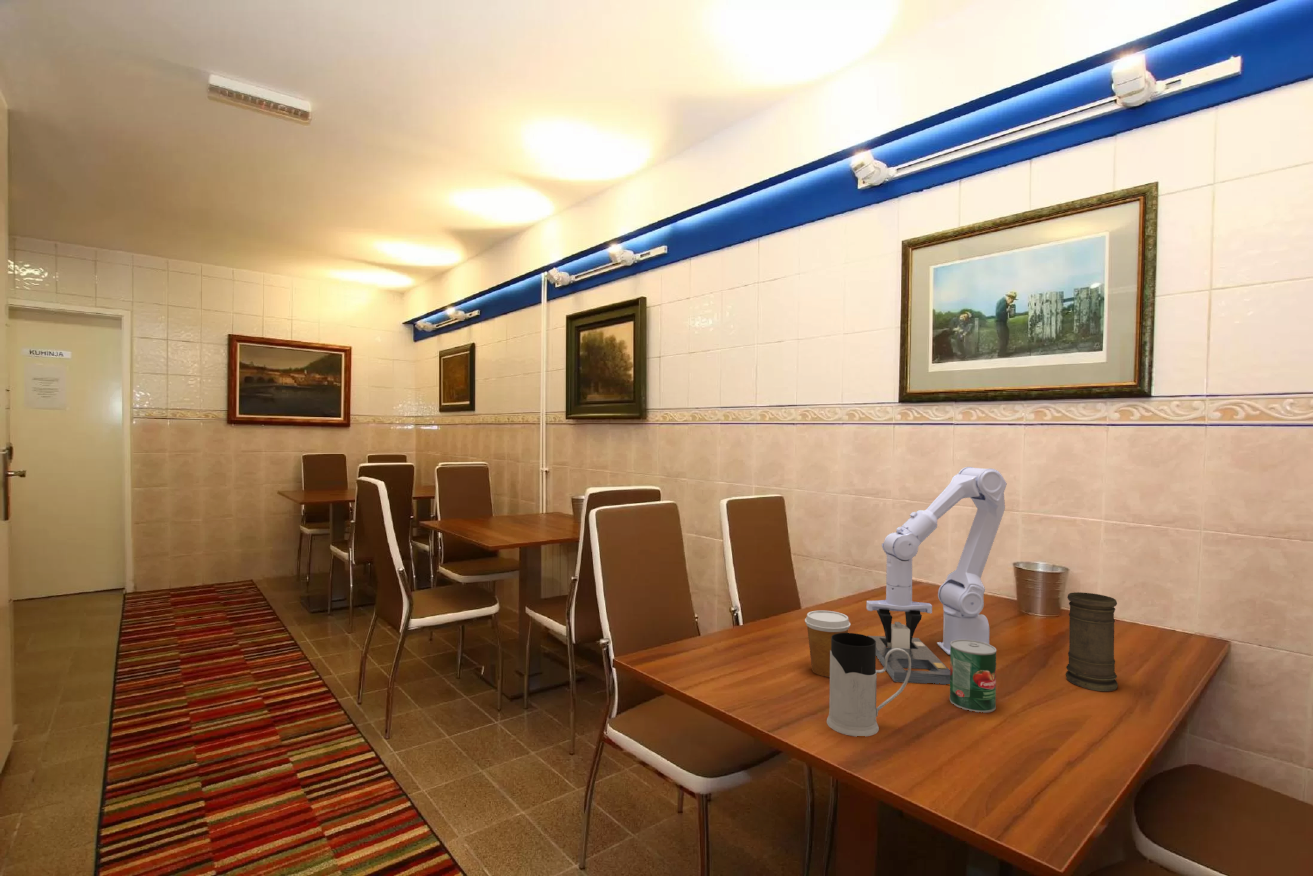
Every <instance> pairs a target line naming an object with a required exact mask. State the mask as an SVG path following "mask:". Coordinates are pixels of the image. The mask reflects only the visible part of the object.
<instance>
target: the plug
mask: <svg viewBox="0 0 1313 876" xmlns="http://www.w3.org/2000/svg"><path fill="white" fill-rule="evenodd" d="M887 648H904V649H910V629H909V628H908V627H907V626H906V624H903V623H901V621H894V623H891V643H888V642H887Z"/></svg>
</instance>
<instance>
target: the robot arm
mask: <svg viewBox="0 0 1313 876" xmlns="http://www.w3.org/2000/svg"><path fill="white" fill-rule="evenodd" d="M1007 484H1008V483H1007V481H1006V480H1005V478H1004V476H1003V475H1002V473H1001V472H1000V471H999V470H998V469H995V468H984V467H983V468H982V467H973V466H965V467H963V468H961V469H960V470H959V472H957V473H956V474H955V475H954V476H952V478H951V481H950V482H949V484H947V486H946V487H945V488H944V489H943V491H942V492H940V493H939V494H938V496H937V497H936V498H935V499H934V500H933V501H932V502H931V503H930V504H929V506H928V507H927V508H926V509H925V510H922V509H919V510H917V511H912V512H911V513H910V514H909V516H910V517H909V518H908V519H907V520H906V521H905V522H904V523H903V524H902V525H901V526H898V527H897V528H896V529H895V530H896V532H894V531H893V532H891V533H888V534H887V535H886V537H885V538H884V541H883V542H882V543H881V547H882V551H884V553H885V555H886V556H885V557H886V565H885V566H886V575H885V576H886V577H885V578H886V579H885V580H886V581H885V582H886V583H885V593H886V594H885V599H880V600H866V605H865V606H866V607H865V608H866V610H867V611H868V612H873V611H876V612H877V614H878V617H879V620H880V622H881V624H882V627H883V631H884V636H885V637H886V641H887V642H888V643H891V624H893V623H892V622H893V616H892V614H891V612H904V616H905V625H906V626H907V627H908V628H909V629H910V644H911V642H912V638H914V634H915V631H916V629H917V627H918V625H919V624H920V622H921V620H922V613H927V614H933V605H932V604H931V603H930V602H918V601H913V558H914V557H916V556H917V554H918V551H919V546H920V545H922V543H923V542H924V541H925V540H926V539H927V538H928V537H929V536H930V535H931V534H932V533H934V531H935V530H936V529H937V528H938V520H939V519H941V517H943V516H944V515H945V514H946V513H947V512H948V511H950V510H951V509H952V508H953V507H954V506H955V505H956V504H958V503H959V502H960V501H961V500H963V499H969V498H970V499H971V500H972V502H973V504H974V505H975V507H976V513H975V515H974V518H973V520H972V524H971V527H970V529H969V532H968V534H967V539H966V541H965V544H964V545H963V550H962V552H961V555H960V558H959V561H958V562H957V566H956V569H955V570H954V571H952V572H950V573H949V574H947V576H946V579H945V581H944V582H943V583H942V584H941V585H940V586H939V588H938V591H937V597H938V600H939V602H940V603H941V604H942V609H943V625H942V626H943V631H942V633H943V634H942V638H943V639H942V642H941V641H939V642H938V641H937V642H936V644H937V646H939V648H940V649H942V650H943V651H944V652H945V653H946V654H947V655H949V656H950V649H951V645H950V643H951V642H952V641H954V640H974V641H979V642H983V643H987V644H990V625H989V620H988V618H987V616H986V615H984V614H980V613H981V612H982V611H983V608H984V606H985V605H984V604H985V602H984V601H985V600H984V595H985V591H986V589H985V585H984V583H983V581H982V576H983V572H984V570H985V567H986V564H987V561H988V558H989V556H990V553H991V550H992V547H993V544H994V542H995V538H996V536H997V532H998V530H999V527H1000V525H1001V522H1002V518H1003V516H1004V513H1005V511H1006V510H1005V509H1006V505H1005V491H1006V487H1007Z"/></svg>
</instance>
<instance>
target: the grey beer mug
mask: <svg viewBox="0 0 1313 876" xmlns="http://www.w3.org/2000/svg"><path fill="white" fill-rule="evenodd" d="M869 636H870V635H865V634H860V633H853V632H848V633H838V634H834V635H832V637H831V651H830V677H829V700H828V701H829V703H828V704H829V710H828V711H829V712H828V716H827V718H826V724H827V726H828V727H829V728H831V730H833V731H834V732H837V733H839V734H842V735H846V736H851V737H857V736H865V737H870V736H871V737H872V736H873V735H876V734H877V733H878V732H879V730H880V729H879V728H880V727H879V725H878V723H877V721H878V720H877V717H878V714H879V712H880V710H881V709H882V708H884V707H885V706H886V705H888V704H889V703H890V702H892V701H893V700H894V699H895V698H897V697H898V696H899V695H900V694H901V693H902V692H903V691H904V689H905V688H906V686H907V684H908V683H907V682H908V680H909V677H910V673H911V670H912V668H911V658H910V656H909V654H908V653H907V652H906V651H905V650H903V649H900V648H894V649H891V650H890V651H888V653H887V654H886V656H885V660H884V667H883V668H882V669H877V668H876V667H877V666H876V663H877V661H876V659H877V657H876V641H875V640H874V639H873V638H871V637H869ZM894 651H902V652H904V653H905V654H906V655H907V656H908V661H909V666H908V668H907V670H908V673H907V676H906V679H905V681H904V682H902V684H901V686H900V688H899V689H898V690H897V691H895V693H894V694H892V695H891V696H890V697H889V698H887V699H886V700H884V701H883V702H882V703H880V704H879V705H878V706H877V674H882V673H884V672H885V671H886V668H887V660H888V657H889V655H890V654H891V653H892V652H894ZM886 672H887V671H886Z"/></svg>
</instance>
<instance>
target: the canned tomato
mask: <svg viewBox="0 0 1313 876" xmlns="http://www.w3.org/2000/svg"><path fill="white" fill-rule="evenodd" d="M950 645H951V649H950V655H949V657H950V658H949V659H950V660H949V662H950V663H949V670H950V685H949V701H950V703H951V704H952V705H953V704H954V705H953V706H955V707H956V708H959V709H961V708H962V709H961V710H964V711H967V710H969V711H968V712H972V711H975V712H974V713H979V712H981V713H980V714H982V712H983V714H986V713H987V714H988V713H992V712H994V711H995V710H996V709H997V707H996V703H997V701H996V700H997V696H996V695H997V693H996V691H997V680H996V679H997V648H996V647H995V646H993V645H992V644H990V643H989V644H987V643H983V642H979V641H974V640H954V641H952V642H951V643H950Z"/></svg>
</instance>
